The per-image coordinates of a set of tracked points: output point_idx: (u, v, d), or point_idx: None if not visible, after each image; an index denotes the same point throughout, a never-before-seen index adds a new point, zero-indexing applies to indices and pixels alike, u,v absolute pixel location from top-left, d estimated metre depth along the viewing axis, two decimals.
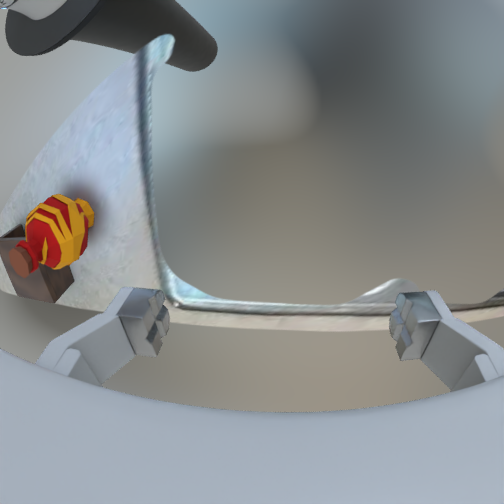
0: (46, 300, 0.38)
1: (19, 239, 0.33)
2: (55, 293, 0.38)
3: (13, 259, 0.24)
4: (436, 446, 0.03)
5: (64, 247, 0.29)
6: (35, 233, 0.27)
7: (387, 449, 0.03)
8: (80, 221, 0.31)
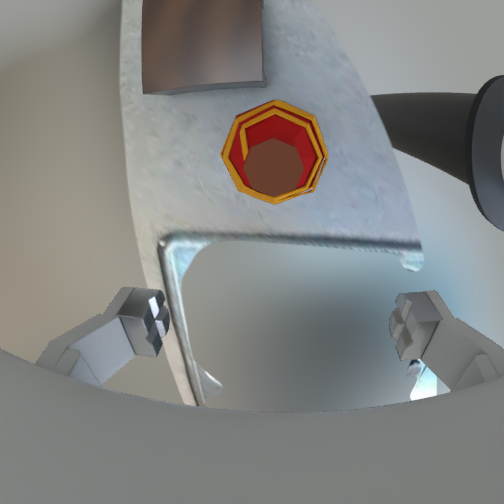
0: (145, 75, 0.22)
1: (262, 49, 0.21)
2: (158, 92, 0.24)
3: (281, 156, 0.18)
4: (436, 446, 0.03)
5: (266, 198, 0.25)
6: None
7: (387, 449, 0.03)
8: None
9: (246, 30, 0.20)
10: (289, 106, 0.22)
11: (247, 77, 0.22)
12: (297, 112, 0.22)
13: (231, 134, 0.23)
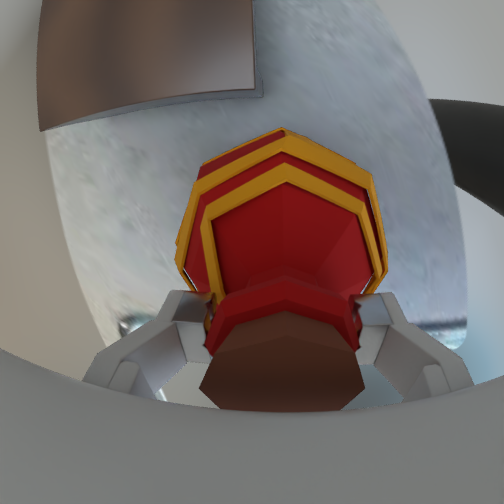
0: (41, 97, 0.10)
1: (253, 19, 0.09)
2: (67, 123, 0.12)
3: (309, 372, 0.06)
4: (436, 446, 0.03)
5: None
6: None
7: (387, 449, 0.03)
8: None
9: None
10: (319, 153, 0.10)
11: (220, 81, 0.10)
12: (338, 170, 0.10)
13: (186, 219, 0.11)
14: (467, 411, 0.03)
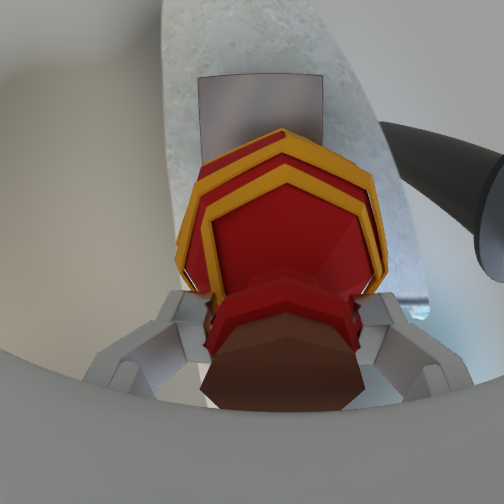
0: None
1: None
2: None
3: (309, 373, 0.06)
4: (436, 446, 0.03)
5: None
6: None
7: (388, 449, 0.03)
8: None
9: (308, 138, 0.25)
10: (319, 154, 0.10)
11: None
12: (338, 171, 0.10)
13: (187, 220, 0.11)
14: (467, 411, 0.03)
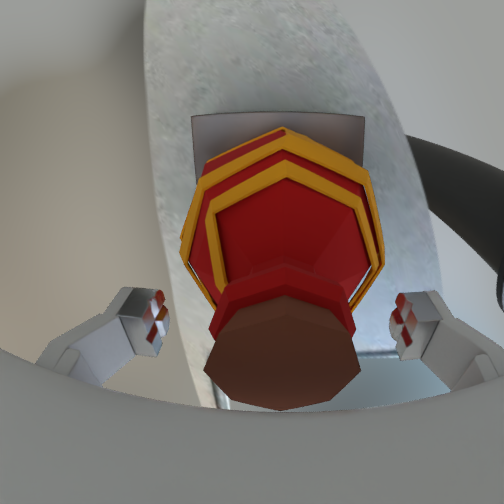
0: None
1: None
2: None
3: (307, 352, 0.06)
4: (436, 446, 0.03)
5: None
6: None
7: (387, 449, 0.03)
8: None
9: None
10: (317, 151, 0.10)
11: None
12: (335, 167, 0.10)
13: (191, 213, 0.12)
14: (467, 411, 0.03)
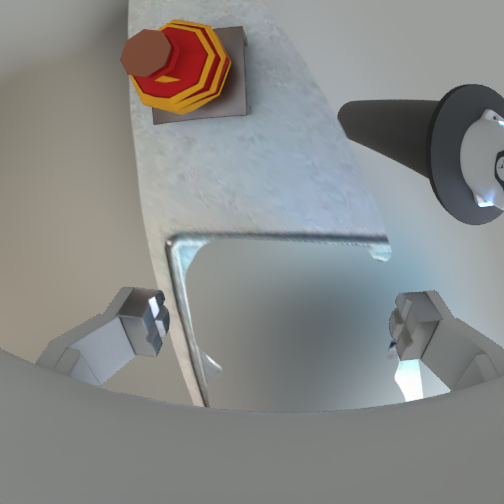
0: (155, 109, 0.31)
1: (245, 88, 0.29)
2: None
3: (151, 40, 0.15)
4: (436, 446, 0.03)
5: (164, 102, 0.22)
6: (184, 60, 0.19)
7: (387, 449, 0.03)
8: (194, 108, 0.25)
9: (233, 73, 0.28)
10: (185, 21, 0.19)
11: (234, 112, 0.31)
12: (191, 24, 0.19)
13: None
14: (467, 411, 0.03)
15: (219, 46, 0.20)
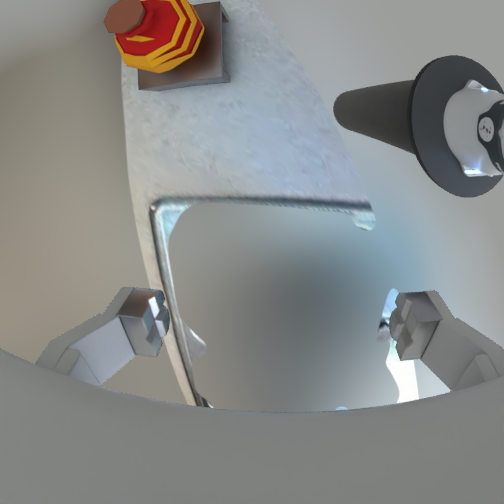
0: (140, 76, 0.31)
1: (221, 54, 0.29)
2: (150, 88, 0.33)
3: (128, 5, 0.15)
4: (436, 446, 0.03)
5: (141, 59, 0.22)
6: (159, 23, 0.19)
7: (387, 449, 0.03)
8: (170, 67, 0.25)
9: (210, 41, 0.28)
10: None
11: (211, 75, 0.31)
12: None
13: None
14: (467, 411, 0.03)
15: (191, 12, 0.20)
